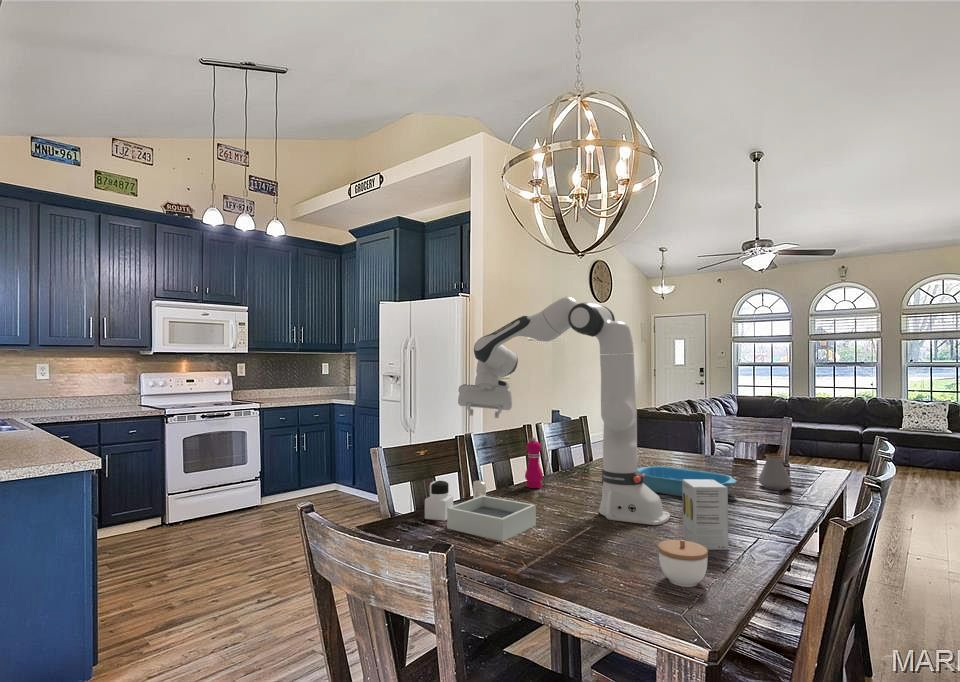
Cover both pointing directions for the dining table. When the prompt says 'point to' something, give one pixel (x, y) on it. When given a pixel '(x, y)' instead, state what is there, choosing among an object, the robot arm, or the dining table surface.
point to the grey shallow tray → (492, 512)
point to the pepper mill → (533, 465)
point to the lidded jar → (683, 562)
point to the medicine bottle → (438, 501)
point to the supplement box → (705, 513)
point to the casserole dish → (677, 478)
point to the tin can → (479, 488)
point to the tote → (491, 518)
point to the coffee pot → (774, 472)
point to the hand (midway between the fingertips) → (483, 415)
